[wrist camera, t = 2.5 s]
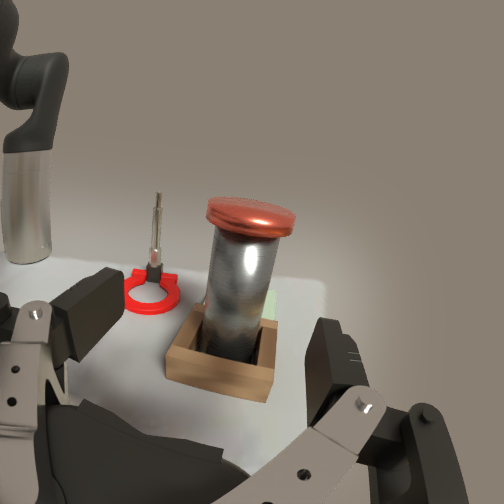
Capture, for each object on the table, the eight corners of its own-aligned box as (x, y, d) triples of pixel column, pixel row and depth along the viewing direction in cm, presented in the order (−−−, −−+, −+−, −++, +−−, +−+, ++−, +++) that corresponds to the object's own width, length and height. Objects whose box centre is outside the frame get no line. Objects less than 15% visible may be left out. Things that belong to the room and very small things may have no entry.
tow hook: (175, 322, 30) (183, 282, 39) (182, 215, 25) (192, 194, 34) (108, 311, 29) (128, 274, 37) (102, 206, 24) (130, 187, 32)
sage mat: (199, 313, 32) (200, 309, 32) (216, 281, 41) (216, 278, 41) (272, 329, 32) (273, 325, 32) (275, 294, 40) (276, 291, 40)
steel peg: (182, 373, 23) (196, 206, 17) (201, 333, 29) (219, 193, 24) (253, 390, 22) (297, 227, 17) (260, 346, 28) (294, 208, 23)
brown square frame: (165, 378, 22) (165, 355, 20) (193, 324, 30) (195, 302, 29) (265, 402, 21) (273, 381, 20) (271, 342, 30) (277, 321, 29)
